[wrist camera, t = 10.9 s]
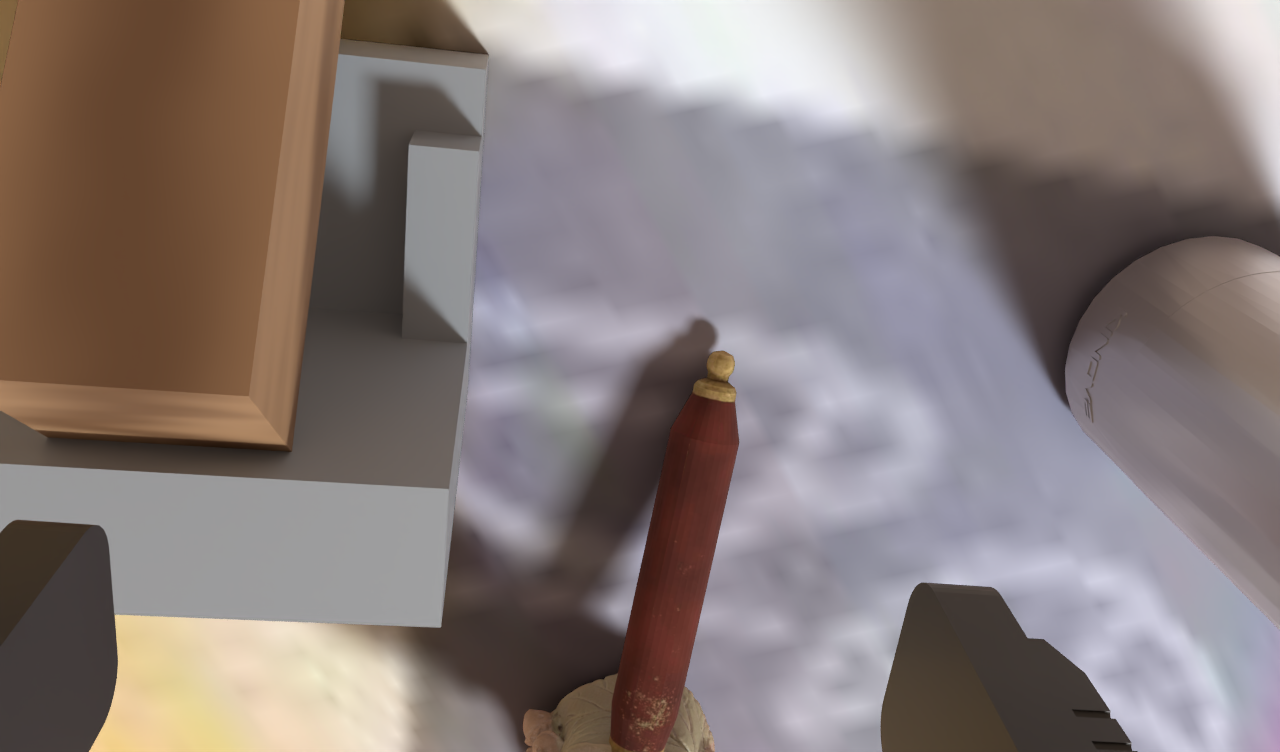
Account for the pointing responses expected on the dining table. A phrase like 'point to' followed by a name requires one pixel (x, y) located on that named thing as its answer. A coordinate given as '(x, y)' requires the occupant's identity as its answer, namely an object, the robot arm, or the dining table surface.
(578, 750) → the figurine
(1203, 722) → the dining table surface
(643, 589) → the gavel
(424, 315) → the bracket
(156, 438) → the rail
